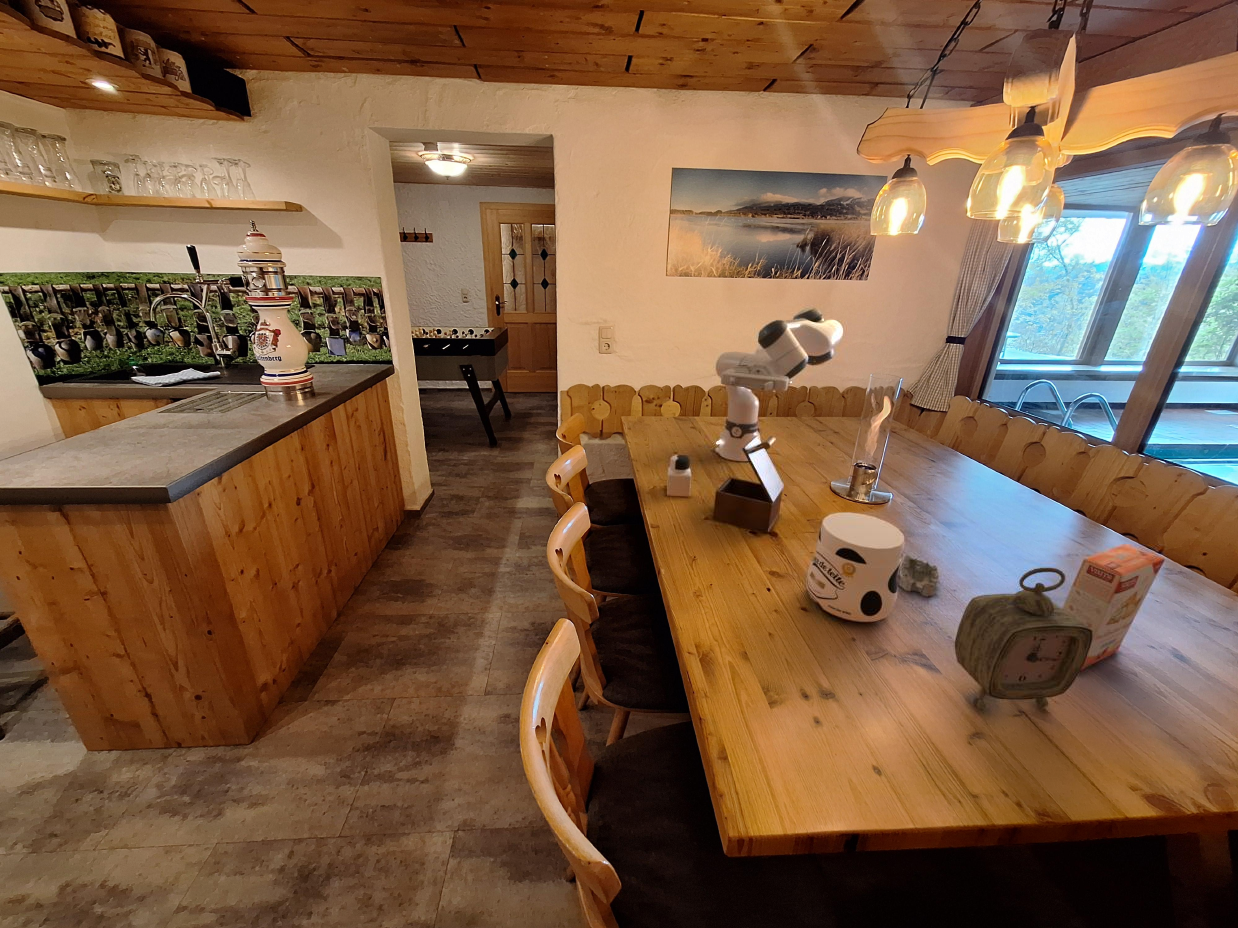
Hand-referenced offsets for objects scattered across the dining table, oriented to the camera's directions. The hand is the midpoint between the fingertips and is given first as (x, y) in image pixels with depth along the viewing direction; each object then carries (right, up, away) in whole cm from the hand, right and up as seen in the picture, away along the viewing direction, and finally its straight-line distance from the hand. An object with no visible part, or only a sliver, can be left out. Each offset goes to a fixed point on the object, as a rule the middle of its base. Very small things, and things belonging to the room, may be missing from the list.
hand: (747, 385), depth 144 cm
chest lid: (+1, -25, -10) cm, 27 cm away
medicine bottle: (-19, -32, +13) cm, 40 cm away
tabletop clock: (+26, -62, -62) cm, 91 cm away
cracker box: (+49, -59, -53) cm, 93 cm away
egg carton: (+30, -51, -32) cm, 67 cm away
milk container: (+11, -53, -40) cm, 67 cm away
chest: (-1, -39, -3) cm, 39 cm away
